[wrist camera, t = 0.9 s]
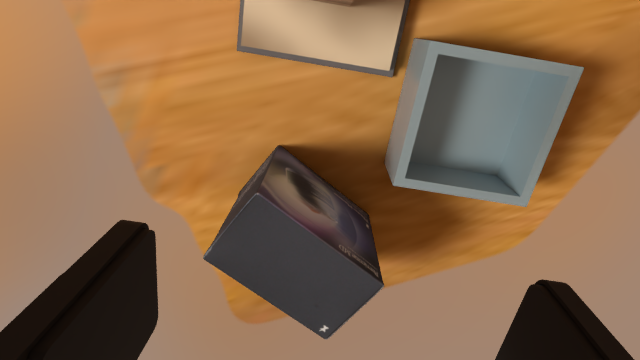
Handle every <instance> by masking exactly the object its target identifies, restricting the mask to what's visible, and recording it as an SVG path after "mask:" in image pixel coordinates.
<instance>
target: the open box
mask: <svg viewBox="0 0 640 360" xmlns="http://www.w3.org/2000/svg"><path fill="white" fill-rule="evenodd" d="M583 69H584V67H579V66H573V65H568V64H562V63H556V62H551V61H545V60H539V59H533V58H528V57H522V56H516V55H511V54H505V53H499V52H493V51H488V50H482V49H476V48H471V47H465V46H459V45H454V44H448V43H442V42H436V41H431V40H424V39H417V38H414V40H413V44H412V48H411V53H410V57H409V61H408V65H407V69H406V73H405V77H404V82H403V86H402V90H401V94H400V98H399V102H398V106H397V111H396V115H395V119H394V123H393V127H392V131H391V136H390V140H389V144H388V148H387V152H386V156H385V160H384V164H385V166H386V169H387V171H388V174H389V177H390V179H391V182H392V184H393V186H399V187H405V188H411V189H418V190H424V191H430V192H436V193H443V194H449V195H455V196H461V197H468V198H474V199H480V200H486V201H492V202H499V203H505V204H511V205H517V206H524V207H527V204H528V202H529V199H530V197H531V195H532V192H533V190H534V187H535V185H536V183H537V180H538V178H539V175H540V173H541V170H542V168H543V166H544V163H545V161H546V158H547V156H548V154H549V151H550V149H551V146H552V144H553V142H554V139H555V137H556V134H557V132H558V130H559V127H560V125H561V122H562V120H563V118H564V115H565V113H566V110H567V108H568V105H569V103H570V101H571V98H572V96H573V93H574V91H575V89H576V86H577V84H578V81H579V79H580V77H581V74H582V72H583Z"/></svg>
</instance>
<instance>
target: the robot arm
mask: <svg viewBox="0 0 640 360" xmlns="http://www.w3.org/2000/svg"><path fill="white" fill-rule="evenodd" d="M156 272H157V269H156V242H155V232H154V231H152V230H149V228H148V225H147V224H146V223H141V222H134V221H127V220H120V221H119V222H117V223H116V224H115V225H114V226H113V227H112V228H111V229H110V230H109V231H108V232H107V233H106V234H105V235H104V236H103V237H102V238H100V239H99V240H98V241H97V242H96V243H95V244H94V245H93V246H92V247H91V248H90V249H89V250H88V251H87V252H86V253H85V254H84V255H83V256H82V257H80V258H79V259H78V260H77V261H76V262H75V263H74V264H73V265H72V266H71V267H70V268H69V269H68V270H67V271H66V272H65V273H63V274H62V275H60V276H59V277H58V278H57V279H56V280H55V281H54V282H53V283H52V284H51V285H50V286H49V287H48V288H47V289H45V291H43V292H42V293H41V294H40V295H39V296H38V297H37V298H36V299H35V300H34V301H33V302H32V303H31V304H30V305H29V306H27V307H26V308H25V309H24V310H23V311H22V312H21V313H20V314H19V315H18V316H17V317H16V318H15V319H14V320H13V321H12V322H11V323H9V324H8V325H7V326H6V327H5V328H4V329H3V330H2V331H1V332H0V360H137V359H138V357H139V355H140V353H141V352H142V350H143V348H144V347H145V345H146V343H147V341H148V340H149V338H150V336H151V334H152V333H153V331H154V329H155V326H156V324H157V320H158V296H157V273H156ZM495 360H634V359H633V358H632V357H631V355H630V354H629V353H628V352H627V351H626V350H625V349H624V347H623V346H622V345H621V344H620V343H619V342H618V341H617V340H616V339H615V337H614V336H613V335H612V334H611V333H610V332H609V330H608V329H607V328H606V327H605V326H604V325H603V324H602V322H601V321H600V320H599V319H598V318H597V317H596V316H595V314H594V313H593V312H592V311H591V310H590V309H589V308H588V306H587V305H586V304H585V303H584V302H583V301H582V300H581V299H580V297H579V296H578V295H577V294H576V293H575V292H574V291H573V289H572V288H571V287H570V286H569V285H567V284H566V283H562V282H555V281H548V280H539V281H537V282H536V283H535V284H533V285H531V286H529V288H528V290H527V292H526V294H525V296H524V298H523V300H522V302H521V305H520V307H519V309H518V311H517V313H516V316H515V318H514V320H513V322H512V324H511V326H510V328H509V331H508V333H507V335H506V337H505V339H504V342H503V344H502V346H501V348H500V350H499V352H498V354H497V356H496V359H495Z"/></svg>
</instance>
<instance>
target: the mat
mask: <svg viewBox="0 0 640 360" xmlns="http://www.w3.org/2000/svg"><path fill="white" fill-rule="evenodd" d="M409 2H410V0H405V3H404V8H403V12H402V17H401V21H400V26H399V30H398V35H397V39H396V43H395V48H394V52H393V57H392V61H391V66H390V70H389V71H387V70H381V69H375V68H369V67H363V66H357V65H352V64H346V63H340V62H334V61H328V60H322V59H317V58H311V57H305V56H299V55H293V54H287V53H282V52H276V51H270V50H264V49H258V48H252V47H247V46H241V39H242V26H243V13H244V0H240V14H239V28H238V42H237V51H241V52H247V53H253V54H259V55H265V56H271V57H277V58H282V59H288V60H294V61H300V62H306V63H312V64H317V65H323V66H329V67H335V68H341V69H347V70H353V71H358V72H364V73H370V74H376V75H382V76H388V77H393V72H394V68H395V64H396V59H397V55H398V50H399V46H400V42H401V37H402V33H403V29H404V24H405V20H406V15H407V11H408V7H409Z"/></svg>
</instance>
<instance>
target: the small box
mask: <svg viewBox="0 0 640 360" xmlns="http://www.w3.org/2000/svg"><path fill="white" fill-rule="evenodd" d="M203 259H204V260H206V261H207V262H209V263H210V264H212V265H213V266H215V267H216V268H218V269H220V270H221V271H223V272H224V273H226V274H227V275H229V276H230V277H232V278H233V279H235V280H236V281H238V282H239V283H241V284H242V285H244V286H245V287H247V288H248V289H250V290H251V291H253V292H254V293H256V294H257V295H259V296H260V297H262V298H263V299H265V300H266V301H268V302H269V303H271V304H272V305H274V306H275V307H277V308H278V309H280V310H281V311H283V312H284V313H286V314H288V315H289V316H291V317H292V318H294V319H295V320H297V321H298V322H300V323H301V324H303V325H304V326H306V327H307V328H309V329H310V330H312V331H313V332H315V333H316V334H318V335H319V336H321V337H322V338H324V339H328V338H330V337H331V336H332V335H333V334H334V333H335V332H336V331H337V330H338V329H339V328H340V327H341V326H342V325H343V324H345V323H346V322H347V321H348V320H349V319H350V318H351V317H352V316H353V315H354V314H355V313H356V312H357V311H359V309H360V308H362V307H363V306H364V305H365V304H366V303H367V302H368V301H369V300H370V299H371V298H373V297H374V296H375V295H376V294H377V293H378V292H379V291H380V290H381V289H382V288H383V287H384V283H383V280H382V276H381V271H380V266H379V262H378V257H377V252H376V248H375V243H374V238H373V234H372V229H371V224H370V219H369V215H368V214H367V213H366V212H365V211H363V210H362V209H361V208H359V207H358V206H357V205H356V204H354V203H353V202H352V201H351V200H349V199H348V198H347V197H345V196H344V195H343V194H342V193H340V192H339V191H338V190H336V189H335V188H334V187H333V186H331V185H330V184H329V183H328V182H326V181H325V180H324V179H323V178H321V177H320V176H319V175H317V174H316V173H315V172H314V171H312V170H311V169H310V168H308V167H307V166H306V165H305V164H303V163H302V162H301V161H300V160H298V159H297V158H296V157H294V156H293V155H292V154H291V153H289V152H288V151H287V150H286V149H284V148H283V147H282V146H280V145H279V146H277V147H276V148H275V150H274V151H273V152H272V153H271V154H270V156H269V157H268V158H267V159H266V160H265V162H264V163H263V164H262V165H261V166H260V168H259V169H258V170H257V171H256V173H255V174H254V175H253V176H252V178H251V179H250V180H249V181H248V182H247V184H246V185H245V186H244V187H243V189H242V190H241V191H240V192H239V194H238V198H237V200H236V202H235V203H234V205H233V207H232V209H231V211H230V213H229V214H228V216H227V218H226V219H225V221H224V223H223V225H222V227H221V228H220V230H219V233H218V234H217V236H216V238H215V240H214V241H213V243H212V244H211V246H210V247H209V249H208V250H207V251H206V253H205V255H204V257H203Z"/></svg>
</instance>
